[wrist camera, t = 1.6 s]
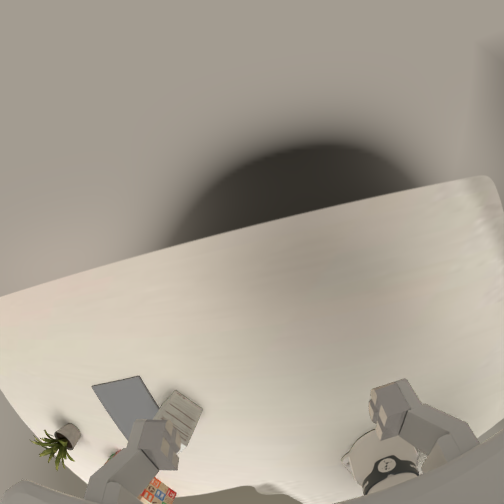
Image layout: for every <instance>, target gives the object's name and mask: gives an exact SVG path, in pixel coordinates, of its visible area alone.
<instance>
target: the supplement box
mask: <svg viewBox="0 0 504 504" xmlns="http://www.w3.org/2000/svg"><path fill="white" fill-rule="evenodd" d="M202 411H203V409H202V408H200V407H199V406H197V405H196V404H195V403H193V402H192V401H190V400H189V399H187V398H186V397H185V396H183V395H182V394H180V393H179V392H178V391H176V390H175V391H174V392H173V393H172V394H171V396H170V397H169V398H168V399H167V400H166V401H165V402H164V404H163V405H162V406H161V407H160V409H159V410H158V412H157V413H156V415H155V417H154V418H153V420H171V422H172V423H173V428H174V429H176V430H177V431H178V433H179V435H180V438H181V448H180V451H179V452H178V453H177V455H178V454H179V453H180V452H181V451H182V450H184V449H185V448H186V447H187V445H188V443H189V440H190V438H191V436H192V434H193V432H194V429H195V427H196V425H197V422H198V420H199V418H200V415H201V413H202Z"/></svg>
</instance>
